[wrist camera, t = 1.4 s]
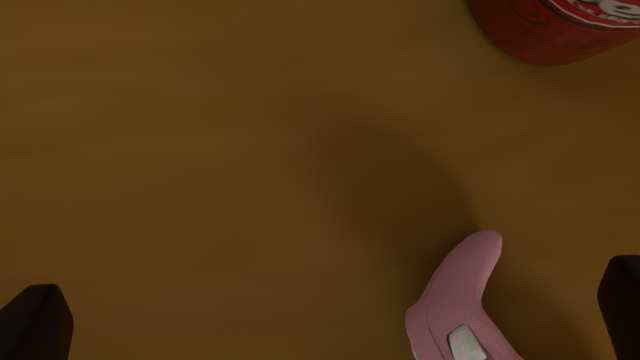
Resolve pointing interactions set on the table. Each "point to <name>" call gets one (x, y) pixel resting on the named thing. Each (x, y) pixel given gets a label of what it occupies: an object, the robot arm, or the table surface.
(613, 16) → the soda can
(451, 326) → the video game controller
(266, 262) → the table surface
